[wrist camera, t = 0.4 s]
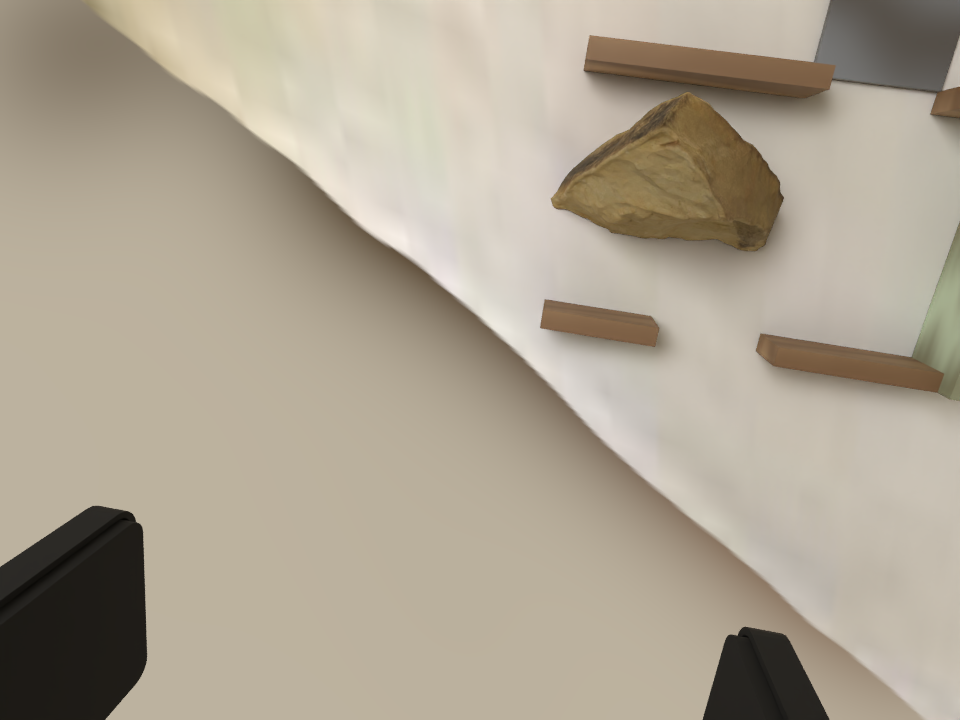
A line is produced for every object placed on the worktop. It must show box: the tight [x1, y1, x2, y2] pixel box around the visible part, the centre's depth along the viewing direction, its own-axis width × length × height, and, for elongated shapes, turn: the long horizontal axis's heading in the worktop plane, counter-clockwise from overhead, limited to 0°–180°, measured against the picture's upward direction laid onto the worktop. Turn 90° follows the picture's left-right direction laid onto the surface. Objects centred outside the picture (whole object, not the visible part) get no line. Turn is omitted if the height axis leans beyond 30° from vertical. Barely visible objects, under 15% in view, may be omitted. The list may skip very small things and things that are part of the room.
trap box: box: [540, 0, 960, 401], centre depth 30 cm, size 20×21×4 cm
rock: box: [551, 92, 784, 251], centre depth 30 cm, size 11×9×10 cm
